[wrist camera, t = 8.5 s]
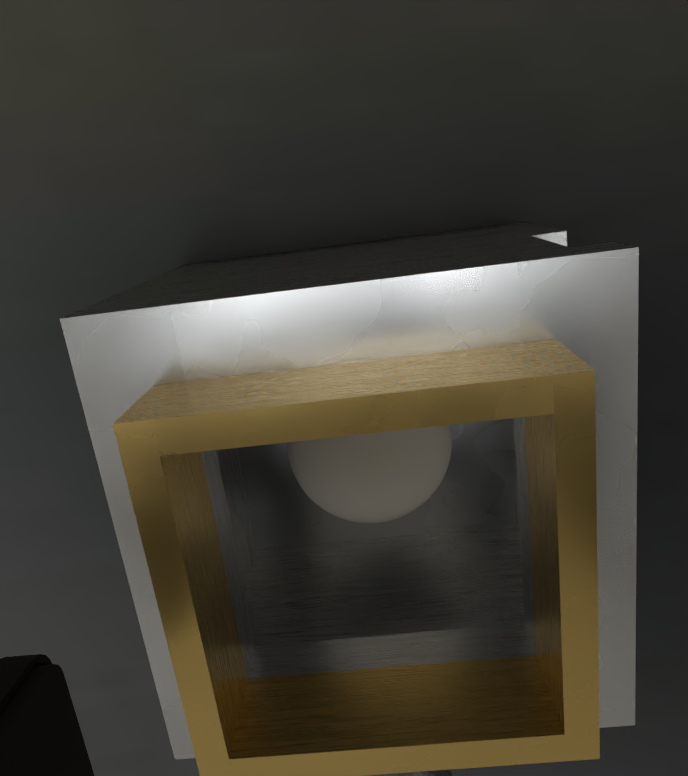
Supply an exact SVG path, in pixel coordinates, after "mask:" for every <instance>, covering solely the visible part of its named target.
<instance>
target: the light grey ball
mask: <svg viewBox="0 0 688 776" xmlns="http://www.w3.org/2000/svg"><path fill="white" fill-rule="evenodd" d="M451 450H452V432H451V425H444V426H435V427H426V428H416V429H407V430H398V431H388V432H379V433H370V434H360V435H351V436H342V437H332V438H323V439H314V440H305V441H295V442H287V452H288V458H289V462H290V466H291V468H292V471H293V473H294V476H295V477H296V479H297V481H298V483H299V485H300V486H301V488H302V489H303V491H304V492H305V493H306V494H307V496H308V497H309V498H310V499H311V500H312V501H313V502H315V503H316V504H317V505H318V506H319V507H321V508H322V509H324V510H325V511H327V512H329V513H330V514H332V515H334V516H336V517H338V518H341V519H344V520H347V521H351V522H356V523H365V524H373V523H383V522H388V521H392V520H395V519H398V518H400V517H403V516H405V515H407V514H409V513H411V512H412V511H414V510H416V509H417V508H418V507H420V506H421V505H423V504H424V503H425V502H426V501H427V500H428V499H429V498H430V497H431V495H432V494H433V493H434V492H435V491H436V489H437V488H438V486H439V485H440V483H441V481H442V480H443V478H444V475H445V473H446V471H447V468H448V464H449V461H450V457H451Z"/></svg>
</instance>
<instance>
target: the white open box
mask: <svg viewBox="0 0 688 776" xmlns="http://www.w3.org/2000/svg"><path fill="white" fill-rule="evenodd" d="M638 284H639V247H635V246H631V245H626V244H622V243H617V242H614V243H606V244H598V245H590V246H582V247H574V248H570V247H567V231H564V230H559V229H555V228H550V227H546V226H541V225H537V224H532V223H528V222H519V223H511V224H503V225H496V226H488V227H480V228H472V229H464V230H456V231H449V232H441V233H433V234H425V235H417V236H409V237H401V238H394V239H386V240H378V241H370V242H362V243H354V244H347V245H339V246H331V247H323V248H315V249H307V250H300V251H292V252H284V253H276V254H268V255H260V256H252V257H245V258H237V259H229V260H221V261H213V262H205V263H198V264H190V265H182V266H180V267H178V268H175V269H173V270H171V271H168V272H166V273H164V274H162V275H159V276H157V277H155V278H152V279H150V280H148V281H145V282H143V283H141V284H139V285H136V286H134V287H132V288H129V289H127V290H125V291H122V292H120V293H118V294H116V295H113V296H111V297H109V298H106V299H104V300H102V301H99V302H97V303H95V304H92V305H90V306H88V307H86V308H83V309H81V310H79V311H76V312H74V313H72V314H69V315H67V316H65V317H63V318H60V322H61V325H62V329H63V333H64V337H65V341H66V345H67V348H68V352H69V356H70V360H71V364H72V368H73V371H74V375H75V379H76V383H77V387H78V390H79V394H80V398H81V402H82V406H83V410H84V413H85V417H86V421H87V425H88V429H89V433H90V436H91V440H92V444H93V448H94V452H95V455H96V459H97V463H98V467H99V471H100V475H101V478H102V482H103V486H104V490H105V494H106V498H107V501H108V505H109V509H110V513H111V517H112V520H113V524H114V528H115V532H116V536H117V540H118V543H119V547H120V551H121V555H122V559H123V562H124V566H125V570H126V574H127V578H128V582H129V585H130V589H131V593H132V597H133V601H134V605H135V608H136V612H137V616H138V620H139V624H140V627H141V631H142V635H143V639H144V643H145V647H146V650H147V654H148V658H149V662H150V666H151V670H152V673H153V677H154V681H155V685H156V689H157V692H158V696H159V700H160V704H161V708H162V712H163V715H164V719H165V723H166V727H167V731H168V734H169V738H170V742H171V746H172V750H173V754H174V757H175V759H187V758H196V761H197V765H198V769H199V773H200V776H365V775H379V774H393V773H407V772H421V771H435V770H449V769H463V768H477V767H491V766H505V765H519V764H533V763H547V762H561V761H575V760H589V759H600V728H604V727H617V726H631V725H635V658H636V534H637V409H638ZM444 425H451V432H452V450H451V457H450V461H449V464H448V468H447V471H446V473H445V475H444V478H443V480H442V481H441V483H440V485H439V486H438V488H437V489H436V491H435V492H434V493H433V494H432V495H431V497H430V498H429V499H428V500H427V501H426V502H425V503H424V504H423V505H421V506H420V507H418V508H417V509H416V510H414V511H412V512H411V513H409V514H407V515H405V516H403V517H400V518H398V519H395V520H392V521H388V522H383V523H373V524H365V523H356V522H351V521H347V520H344V519H341V518H338V517H336V516H334V515H332V514H330V513H329V512H327V511H325V510H324V509H322V508H321V507H319V506H318V505H317V504H316V503H315V502H313V501H312V500H311V499H310V498H309V497H308V496H307V494H306V493H305V492H304V491H303V489H302V488H301V486H300V485H299V483H298V481H297V479H296V477H295V476H294V473H293V471H292V468H291V466H290V462H289V458H288V452H287V442H295V441H305V440H314V439H323V438H332V437H342V436H351V435H360V434H370V433H379V432H388V431H398V430H407V429H416V428H426V427H435V426H444Z"/></svg>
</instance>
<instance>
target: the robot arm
mask: <svg viewBox="0 0 688 776" xmlns="http://www.w3.org/2000/svg"><path fill="white" fill-rule="evenodd" d="M0 776H94V773H93V770H92V767H91V763H90V760H89V757H88V753H87V750H86V747H85V743H84V740H83V737H82V733H81V730H80V727H79V723H78V720H77V717H76V713H75V710H74V707H73V703H72V700H71V697H70V693H69V690H68V687H67V683H66V680H65V677H64V673H63V671H62V669H61V667H60V666H59V665H55V664H52V662H51V660H50V659H49V658H48V657H47V656H46V655H42V654H39V655H26V656H14V657H4V658H2V659H0Z"/></svg>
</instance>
